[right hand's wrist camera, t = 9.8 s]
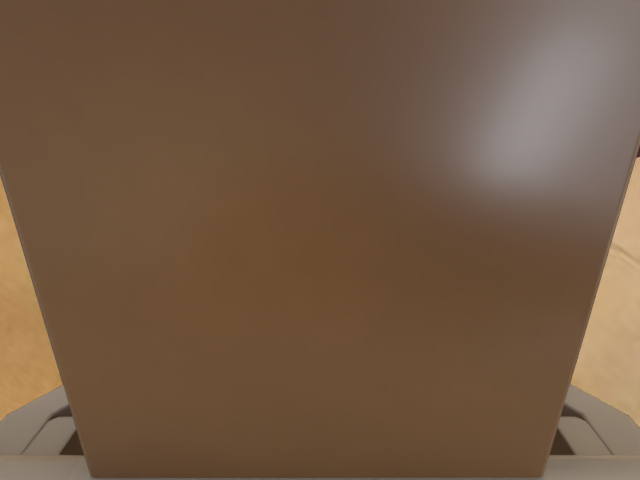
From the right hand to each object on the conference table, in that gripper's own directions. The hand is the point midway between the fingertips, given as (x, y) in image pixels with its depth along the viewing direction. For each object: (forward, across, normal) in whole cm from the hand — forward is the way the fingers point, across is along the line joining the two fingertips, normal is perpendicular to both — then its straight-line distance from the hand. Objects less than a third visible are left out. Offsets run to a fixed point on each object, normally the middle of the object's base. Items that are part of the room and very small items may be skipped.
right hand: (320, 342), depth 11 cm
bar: (+3, 0, +11) cm, 12 cm away
